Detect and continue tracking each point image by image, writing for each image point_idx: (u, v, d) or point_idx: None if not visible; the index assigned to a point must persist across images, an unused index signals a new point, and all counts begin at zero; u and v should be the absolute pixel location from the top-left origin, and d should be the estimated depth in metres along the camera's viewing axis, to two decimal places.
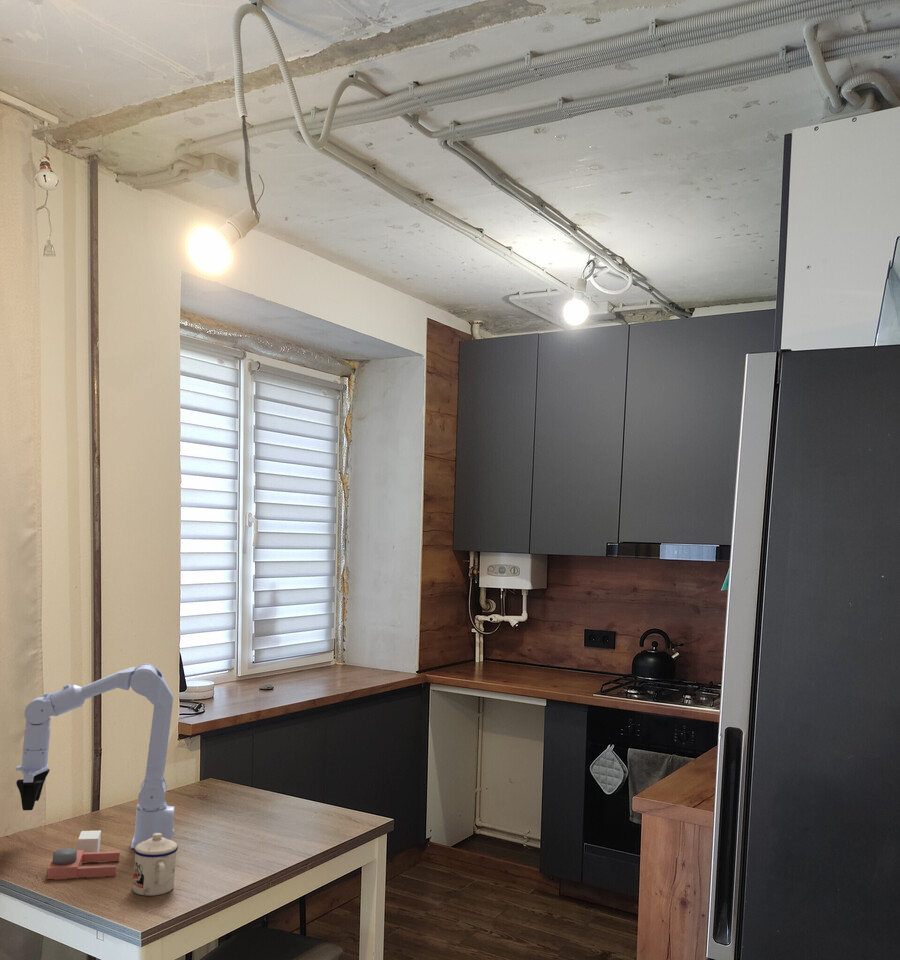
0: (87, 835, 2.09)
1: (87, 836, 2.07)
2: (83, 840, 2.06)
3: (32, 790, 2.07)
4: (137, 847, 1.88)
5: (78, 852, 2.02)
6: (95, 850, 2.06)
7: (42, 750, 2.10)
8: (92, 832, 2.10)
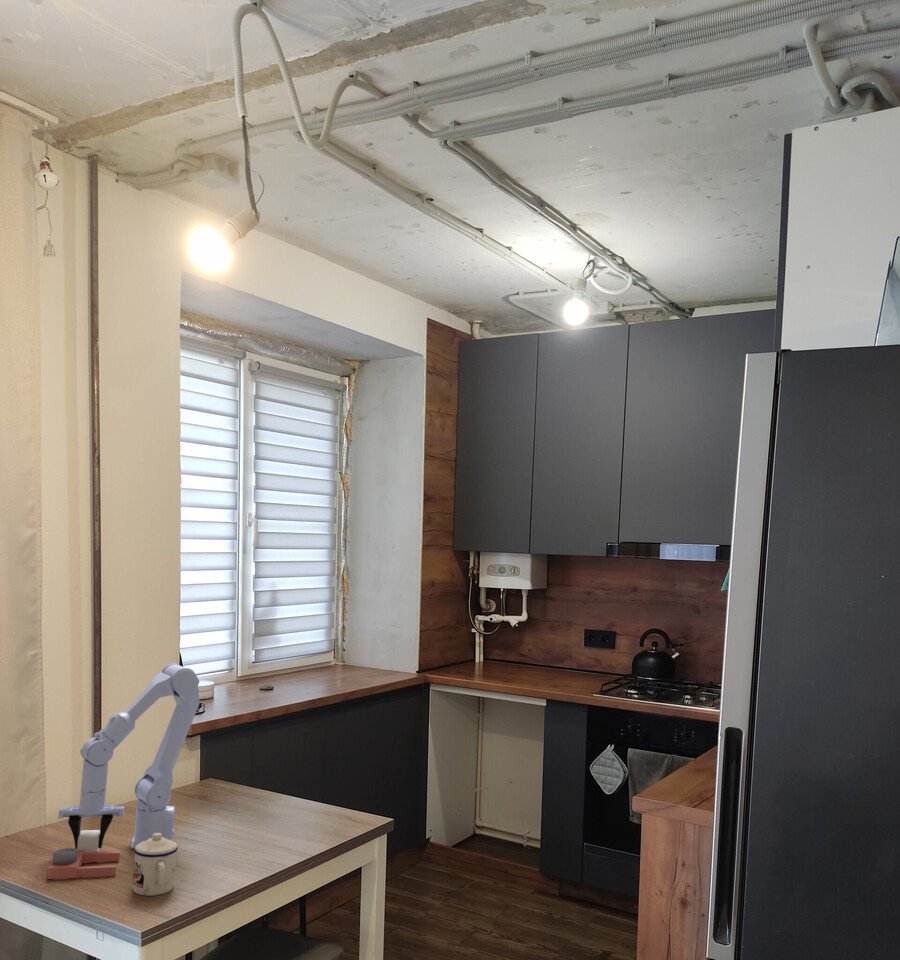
0: (87, 834, 2.09)
1: (87, 836, 2.07)
2: (83, 840, 2.06)
3: None
4: (137, 847, 1.88)
5: (78, 852, 2.02)
6: (95, 849, 2.06)
7: (82, 792, 2.07)
8: (92, 832, 2.10)
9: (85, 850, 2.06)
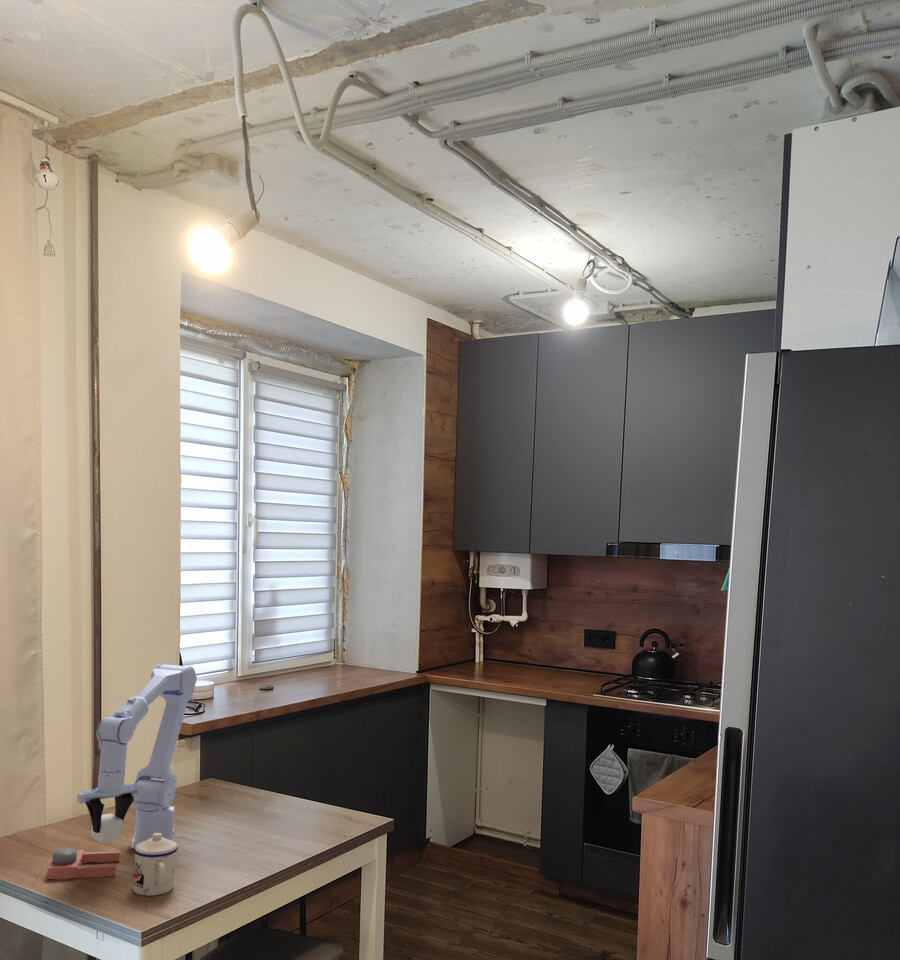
0: (105, 818, 2.01)
1: (108, 820, 2.00)
2: (108, 824, 1.98)
3: None
4: (137, 847, 1.88)
5: (78, 852, 2.02)
6: (119, 832, 2.00)
7: (106, 773, 1.99)
8: (107, 816, 2.03)
9: (110, 834, 1.99)
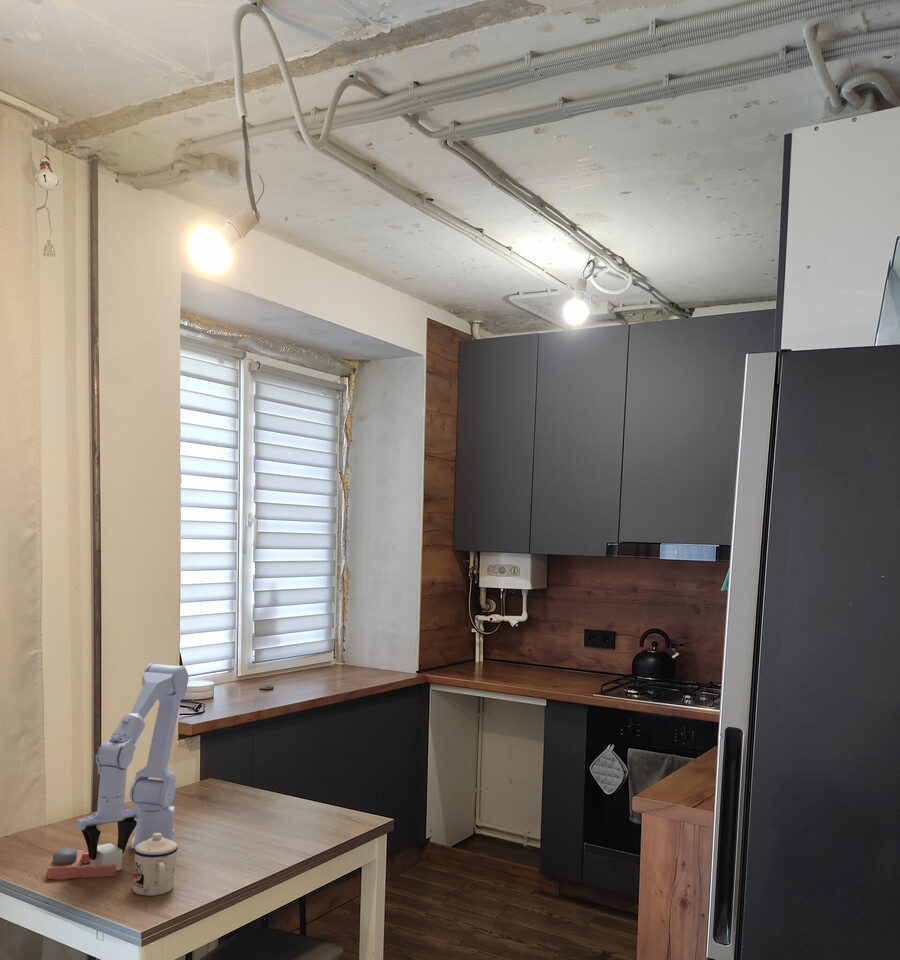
0: (104, 849, 2.00)
1: (108, 850, 1.99)
2: (108, 854, 1.97)
3: None
4: (137, 847, 1.88)
5: (78, 852, 2.02)
6: (119, 862, 1.99)
7: (106, 798, 1.98)
8: (106, 846, 2.02)
9: None
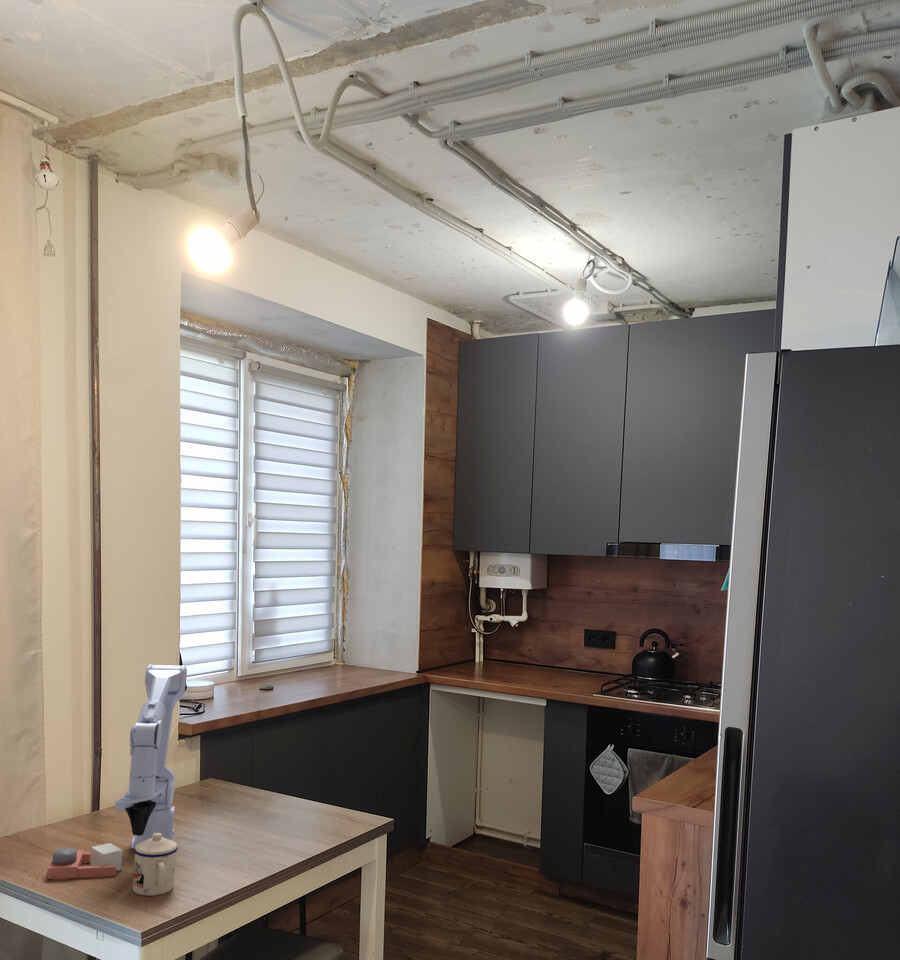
0: (104, 849, 2.00)
1: (108, 850, 1.99)
2: (108, 854, 1.97)
3: None
4: (137, 847, 1.88)
5: (78, 852, 2.02)
6: (119, 862, 1.99)
7: (142, 778, 2.00)
8: (106, 846, 2.02)
9: None
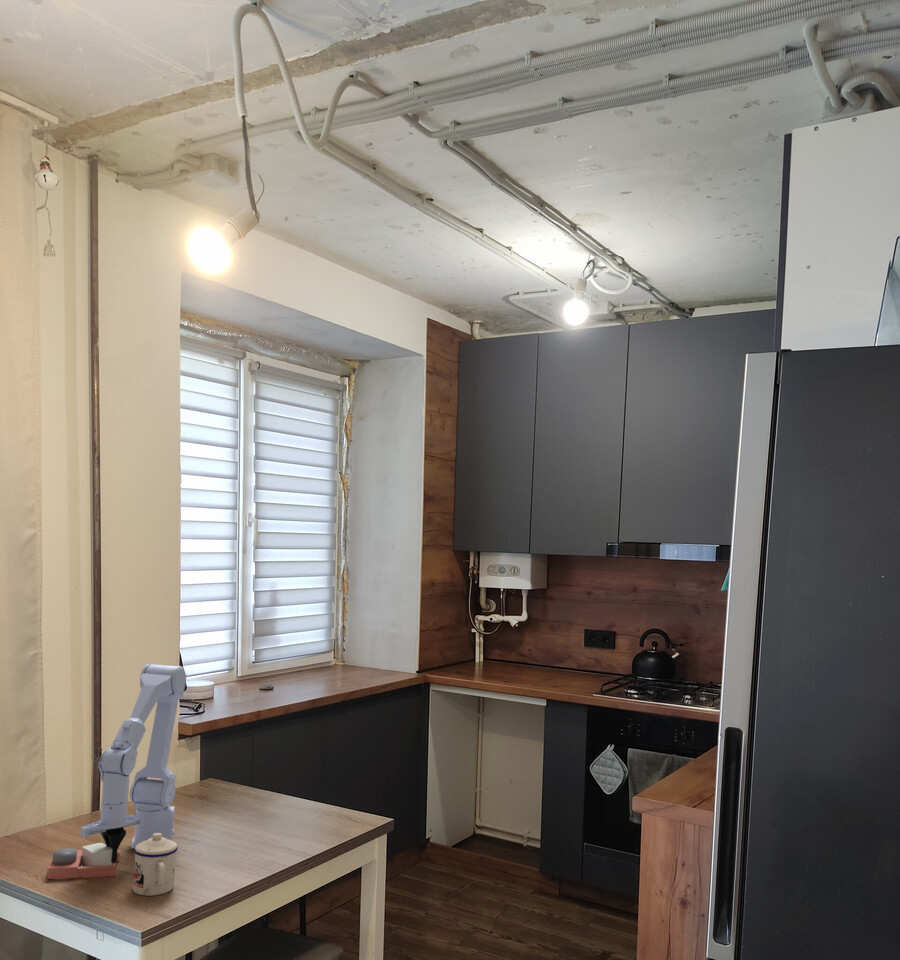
0: (95, 848, 1.99)
1: (98, 849, 1.99)
2: (98, 853, 1.97)
3: None
4: (137, 847, 1.88)
5: (78, 852, 2.02)
6: (110, 861, 1.99)
7: (109, 805, 1.98)
8: (97, 845, 2.01)
9: (100, 864, 1.97)
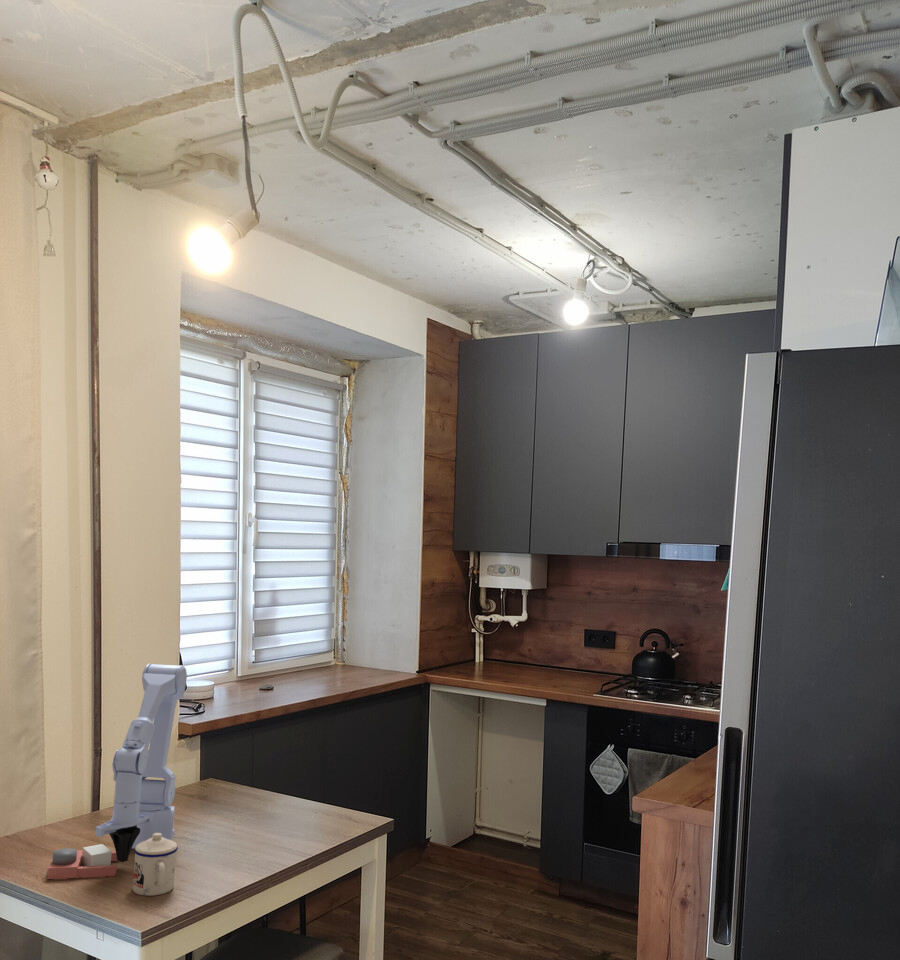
0: (95, 850, 1.99)
1: (98, 851, 1.98)
2: (96, 856, 1.96)
3: None
4: (137, 847, 1.88)
5: (78, 852, 2.02)
6: (108, 864, 1.98)
7: (124, 804, 1.99)
8: (97, 847, 2.01)
9: None
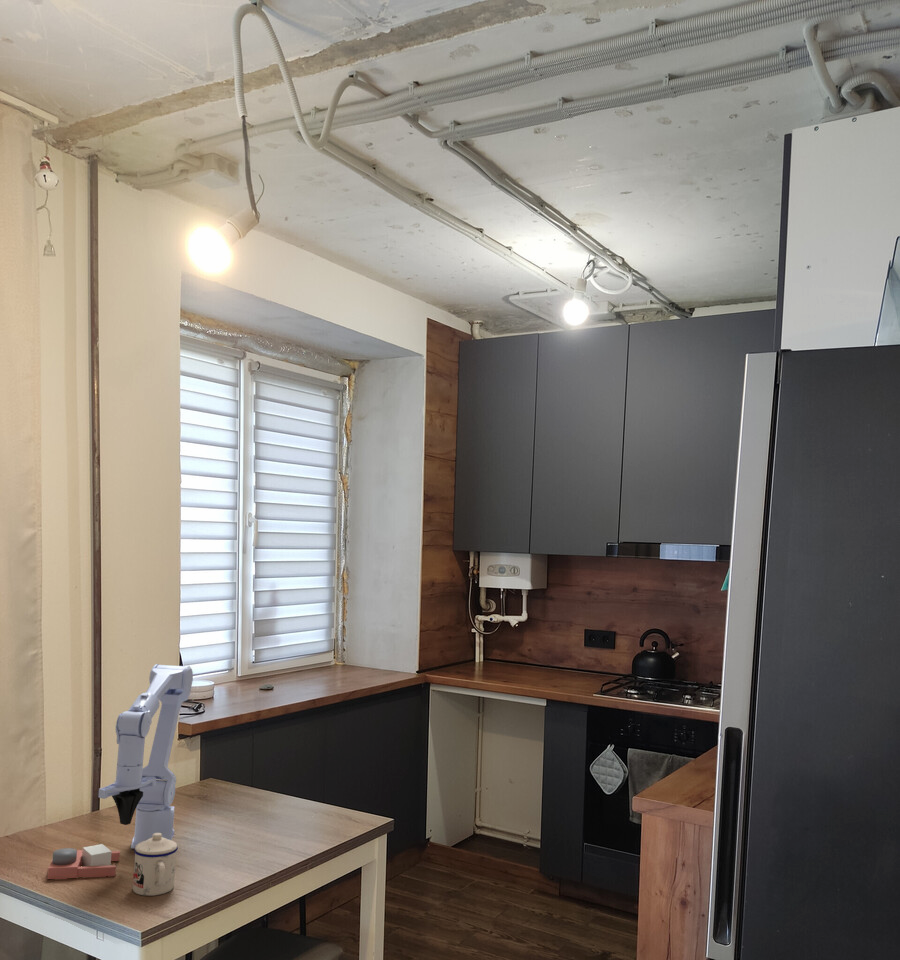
0: (95, 850, 1.99)
1: (98, 851, 1.98)
2: (96, 855, 1.96)
3: None
4: (137, 847, 1.88)
5: (78, 852, 2.02)
6: (108, 864, 1.98)
7: (127, 767, 2.00)
8: (97, 847, 2.01)
9: None
